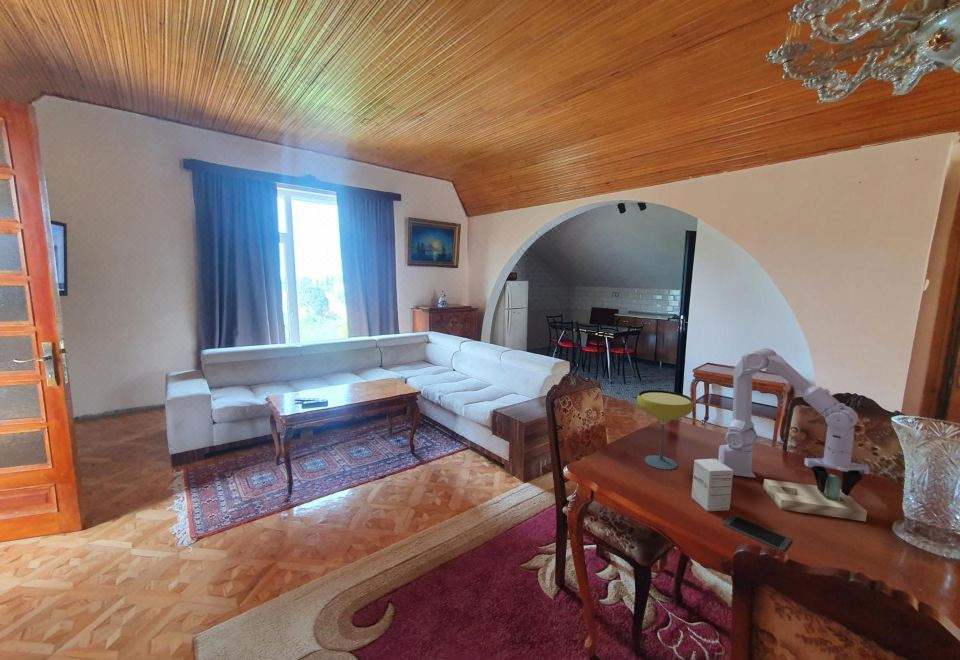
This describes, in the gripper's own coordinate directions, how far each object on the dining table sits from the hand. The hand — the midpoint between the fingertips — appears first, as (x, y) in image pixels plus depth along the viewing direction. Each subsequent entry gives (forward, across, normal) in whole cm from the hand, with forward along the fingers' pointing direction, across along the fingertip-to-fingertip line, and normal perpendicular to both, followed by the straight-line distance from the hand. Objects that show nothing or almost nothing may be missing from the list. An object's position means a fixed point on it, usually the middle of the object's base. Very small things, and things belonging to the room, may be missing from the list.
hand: (832, 492), depth 112 cm
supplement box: (+5, -34, -9) cm, 35 cm away
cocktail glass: (+5, -44, +15) cm, 47 cm away
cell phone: (+5, -26, -20) cm, 33 cm away
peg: (+4, 0, 0) cm, 4 cm away
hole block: (+4, -5, 0) cm, 7 cm away
